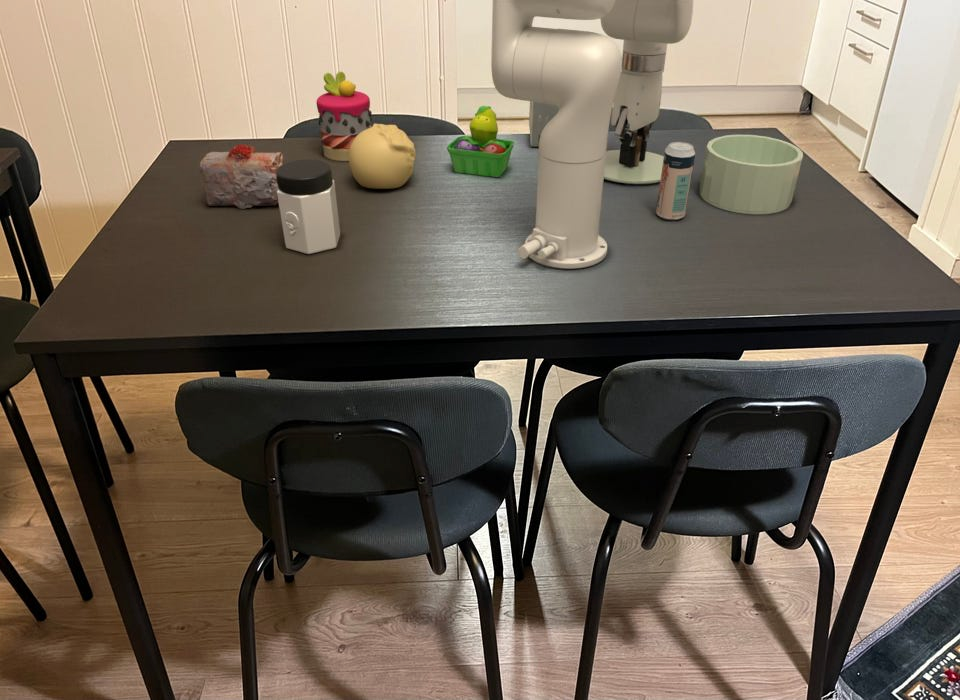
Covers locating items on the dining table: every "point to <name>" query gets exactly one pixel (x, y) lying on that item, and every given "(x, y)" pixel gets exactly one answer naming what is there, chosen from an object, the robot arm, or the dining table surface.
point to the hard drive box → (539, 119)
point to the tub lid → (640, 172)
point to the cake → (341, 116)
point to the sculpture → (382, 157)
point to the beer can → (675, 180)
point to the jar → (308, 206)
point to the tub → (750, 174)
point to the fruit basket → (481, 147)
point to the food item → (241, 177)
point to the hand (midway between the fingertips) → (631, 161)
